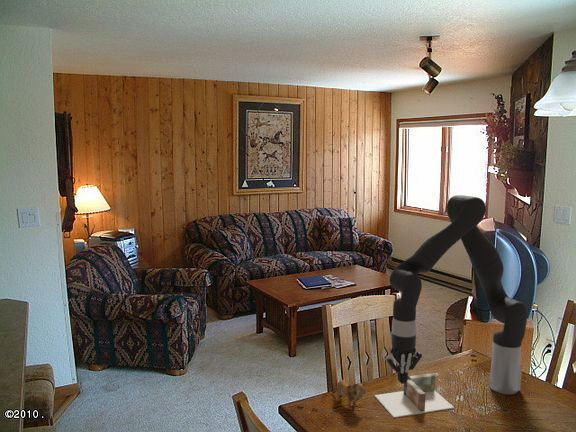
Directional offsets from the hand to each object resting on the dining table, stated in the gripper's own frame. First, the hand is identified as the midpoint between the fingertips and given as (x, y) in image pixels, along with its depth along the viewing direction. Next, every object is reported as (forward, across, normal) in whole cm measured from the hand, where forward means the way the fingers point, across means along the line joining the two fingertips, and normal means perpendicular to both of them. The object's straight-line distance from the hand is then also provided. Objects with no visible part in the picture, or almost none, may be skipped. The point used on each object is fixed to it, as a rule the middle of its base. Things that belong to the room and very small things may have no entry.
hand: (402, 382), depth 160 cm
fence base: (+10, -12, -9) cm, 18 cm away
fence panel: (+10, -7, -3) cm, 12 cm away
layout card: (+10, -7, -4) cm, 13 cm away
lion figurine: (+10, +14, -10) cm, 20 cm away
